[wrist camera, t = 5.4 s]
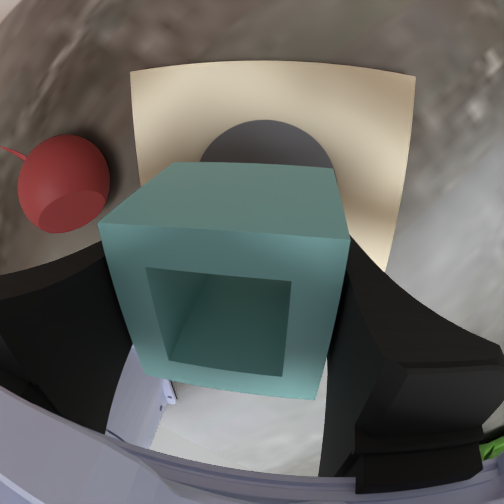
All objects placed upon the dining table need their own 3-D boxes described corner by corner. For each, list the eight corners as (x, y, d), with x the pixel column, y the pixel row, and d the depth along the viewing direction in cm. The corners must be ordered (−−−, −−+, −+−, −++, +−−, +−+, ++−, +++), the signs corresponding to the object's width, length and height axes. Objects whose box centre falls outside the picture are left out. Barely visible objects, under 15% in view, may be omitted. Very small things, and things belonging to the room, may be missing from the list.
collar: (317, 299, 13) (315, 399, 9) (188, 286, 14) (144, 374, 10) (333, 168, 10) (351, 240, 6) (174, 162, 11) (97, 222, 7)
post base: (373, 286, 20) (386, 349, 15) (165, 268, 22) (131, 321, 17) (406, 76, 13) (449, 79, 8) (143, 71, 15) (83, 76, 10)
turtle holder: (503, 407, 26) (523, 488, 16) (535, 426, 28) (549, 484, 18) (428, 451, 32) (434, 526, 22) (477, 462, 35) (485, 518, 25)
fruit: (110, 118, 19) (5, 97, 11) (136, 183, 18) (12, 176, 11) (69, 174, 21) (-22, 171, 14) (89, 237, 20) (-13, 247, 13)
